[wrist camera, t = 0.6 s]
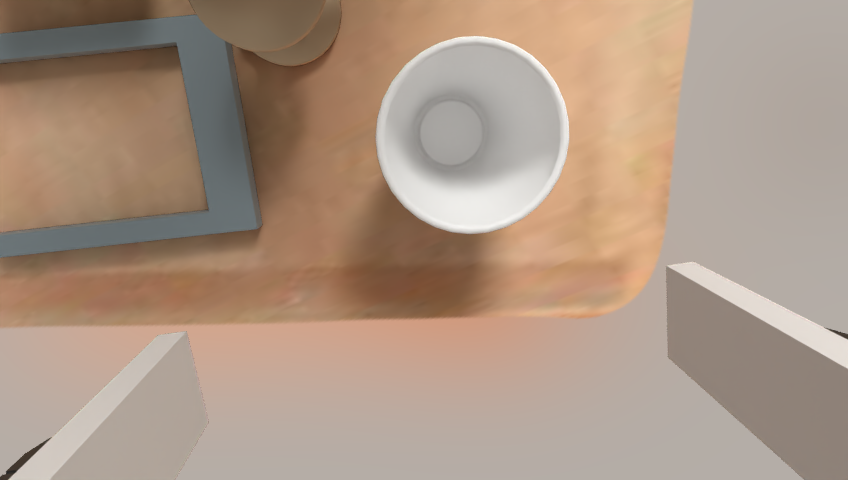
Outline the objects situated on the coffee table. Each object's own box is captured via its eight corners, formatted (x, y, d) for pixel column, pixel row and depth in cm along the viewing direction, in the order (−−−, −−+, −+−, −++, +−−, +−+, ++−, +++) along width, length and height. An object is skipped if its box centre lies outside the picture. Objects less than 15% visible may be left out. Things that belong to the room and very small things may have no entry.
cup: (411, 223, 40) (418, 262, 29) (357, 91, 37) (343, 81, 27) (539, 172, 39) (594, 192, 29) (492, 36, 37) (533, 3, 26)
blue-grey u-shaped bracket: (5, 253, 38) (-11, 258, 37) (-54, 43, 35) (-74, 40, 34) (262, 224, 39) (257, 229, 38) (226, 16, 36) (219, 12, 34)
